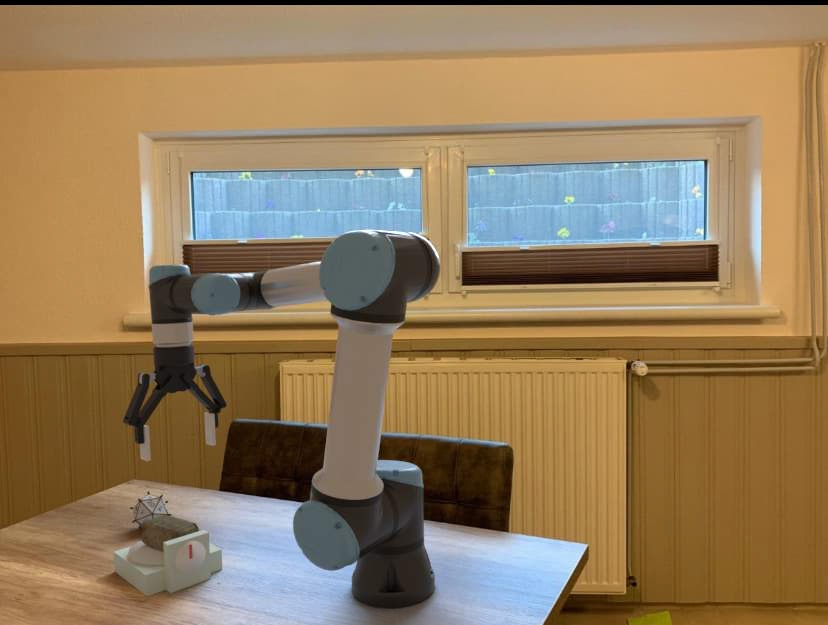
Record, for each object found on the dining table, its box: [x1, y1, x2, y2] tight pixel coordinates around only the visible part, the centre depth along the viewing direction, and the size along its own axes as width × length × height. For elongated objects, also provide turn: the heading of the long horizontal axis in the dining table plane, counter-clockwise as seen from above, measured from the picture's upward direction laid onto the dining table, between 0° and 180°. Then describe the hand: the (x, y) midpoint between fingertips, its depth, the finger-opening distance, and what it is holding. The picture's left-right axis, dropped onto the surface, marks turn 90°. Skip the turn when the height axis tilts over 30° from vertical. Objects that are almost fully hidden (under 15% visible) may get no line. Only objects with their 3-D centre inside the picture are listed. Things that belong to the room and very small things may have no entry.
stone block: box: [141, 515, 200, 551], centre depth 132 cm, size 6×12×5 cm, turn 58°
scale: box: [113, 529, 223, 597], centre depth 132 cm, size 18×15×9 cm
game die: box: [129, 490, 173, 529], centre depth 155 cm, size 9×8×10 cm
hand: (179, 452), depth 133 cm, fingers open, 13 cm apart
